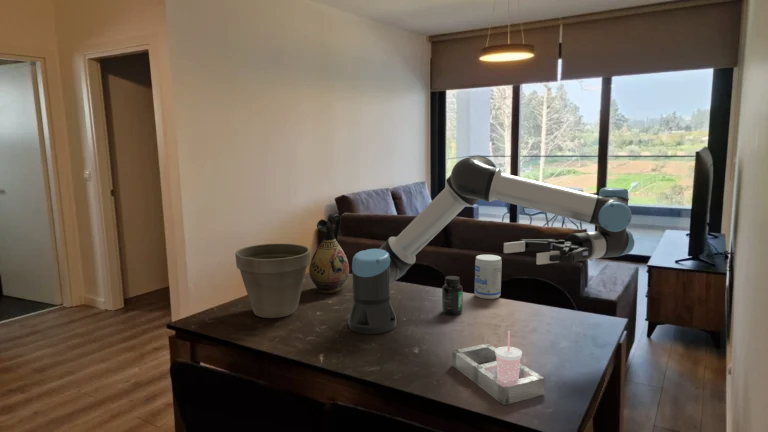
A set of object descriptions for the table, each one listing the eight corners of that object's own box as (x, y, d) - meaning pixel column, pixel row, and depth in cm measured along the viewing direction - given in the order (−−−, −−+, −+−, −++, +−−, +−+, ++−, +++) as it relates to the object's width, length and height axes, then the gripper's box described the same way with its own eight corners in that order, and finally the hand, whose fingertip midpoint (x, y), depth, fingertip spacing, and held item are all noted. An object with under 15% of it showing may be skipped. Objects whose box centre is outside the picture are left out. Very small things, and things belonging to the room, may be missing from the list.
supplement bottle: (465, 314, 169) (465, 279, 167) (446, 316, 167) (446, 281, 166) (457, 308, 176) (458, 274, 174) (439, 309, 174) (439, 275, 172)
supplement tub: (469, 296, 188) (470, 257, 186) (482, 290, 195) (482, 253, 193) (493, 301, 182) (493, 261, 180) (505, 295, 189) (506, 256, 187)
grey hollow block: (452, 365, 131) (452, 350, 130) (488, 357, 135) (488, 343, 135) (503, 405, 111) (503, 387, 110) (543, 394, 115) (544, 378, 115)
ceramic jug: (333, 298, 189) (330, 218, 185) (302, 292, 198) (298, 215, 193) (359, 286, 203) (358, 212, 199) (329, 281, 212) (327, 210, 207)
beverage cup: (493, 381, 122) (493, 325, 120) (519, 382, 121) (520, 326, 119) (496, 394, 116) (496, 335, 114) (523, 395, 115) (524, 336, 113)
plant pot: (327, 309, 177) (325, 248, 174) (269, 330, 158) (266, 262, 155) (281, 296, 193) (279, 240, 190) (224, 313, 174) (220, 251, 171)
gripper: (619, 270, 129) (552, 279, 121) (552, 250, 152) (492, 257, 144) (621, 241, 128) (554, 248, 120) (553, 225, 150) (492, 231, 142)
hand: (520, 253), depth 132 cm, fingers open, 13 cm apart
